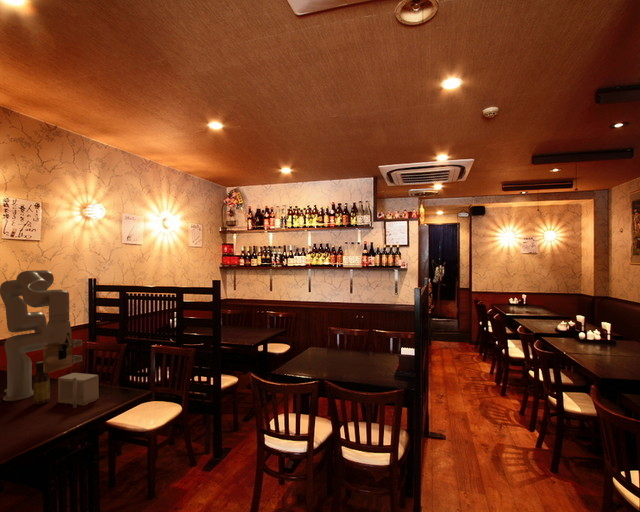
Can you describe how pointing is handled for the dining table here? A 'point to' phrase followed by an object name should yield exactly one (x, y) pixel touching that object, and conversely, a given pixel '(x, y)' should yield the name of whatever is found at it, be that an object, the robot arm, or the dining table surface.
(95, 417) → the dining table surface
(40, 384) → the sauce bottle
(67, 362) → the door
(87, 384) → the white box
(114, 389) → the dining table surface
